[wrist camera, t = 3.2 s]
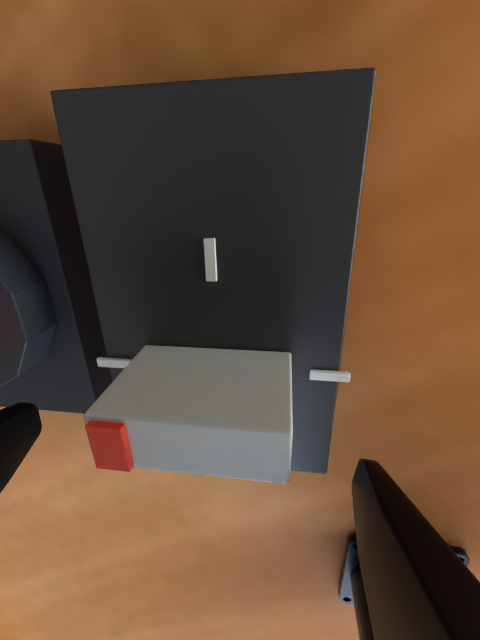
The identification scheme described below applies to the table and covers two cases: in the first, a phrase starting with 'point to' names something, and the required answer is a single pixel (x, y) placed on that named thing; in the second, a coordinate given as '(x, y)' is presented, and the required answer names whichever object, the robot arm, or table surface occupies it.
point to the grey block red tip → (197, 414)
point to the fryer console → (225, 220)
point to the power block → (45, 286)
